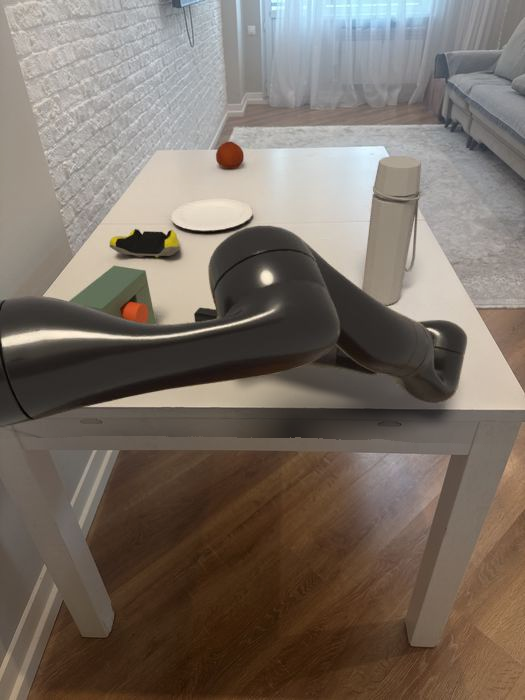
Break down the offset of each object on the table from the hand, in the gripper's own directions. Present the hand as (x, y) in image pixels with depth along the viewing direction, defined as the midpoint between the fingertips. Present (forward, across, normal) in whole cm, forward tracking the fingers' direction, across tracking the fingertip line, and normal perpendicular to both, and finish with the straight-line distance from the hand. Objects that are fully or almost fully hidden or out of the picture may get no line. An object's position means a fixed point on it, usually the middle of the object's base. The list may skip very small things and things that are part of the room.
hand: (196, 315), depth 72 cm
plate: (+24, -55, +9) cm, 60 cm away
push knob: (+11, 0, +4) cm, 12 cm away
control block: (+15, 0, +10) cm, 18 cm away
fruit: (+36, -96, +9) cm, 102 cm away
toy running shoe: (+28, -32, +10) cm, 44 cm away
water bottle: (-24, -30, +9) cm, 39 cm away
